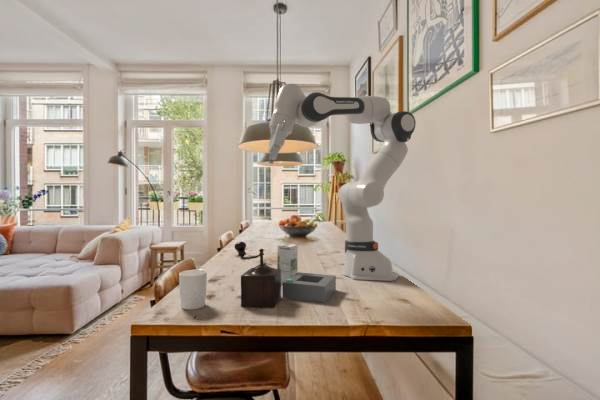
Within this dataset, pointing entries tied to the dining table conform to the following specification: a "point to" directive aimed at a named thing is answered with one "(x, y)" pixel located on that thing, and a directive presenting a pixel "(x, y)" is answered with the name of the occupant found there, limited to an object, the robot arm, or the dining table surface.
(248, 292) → the manual coffee grinder
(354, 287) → the dining table surface
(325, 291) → the port block
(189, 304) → the white cup
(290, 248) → the syrup box
